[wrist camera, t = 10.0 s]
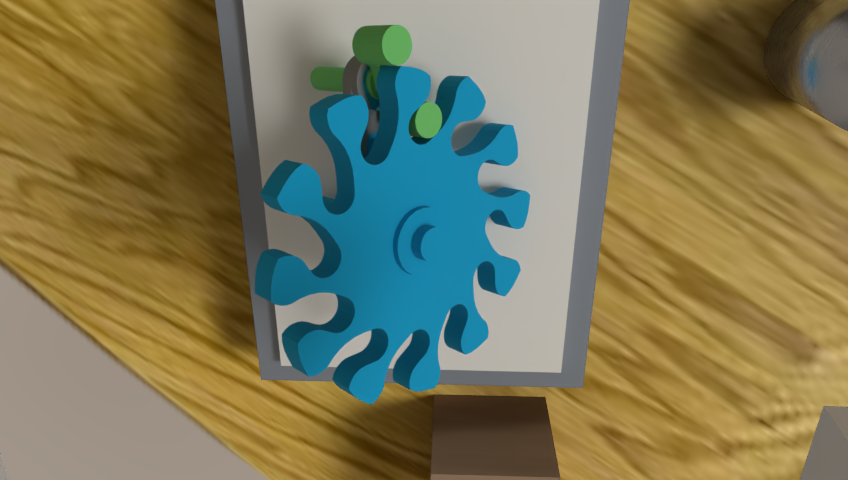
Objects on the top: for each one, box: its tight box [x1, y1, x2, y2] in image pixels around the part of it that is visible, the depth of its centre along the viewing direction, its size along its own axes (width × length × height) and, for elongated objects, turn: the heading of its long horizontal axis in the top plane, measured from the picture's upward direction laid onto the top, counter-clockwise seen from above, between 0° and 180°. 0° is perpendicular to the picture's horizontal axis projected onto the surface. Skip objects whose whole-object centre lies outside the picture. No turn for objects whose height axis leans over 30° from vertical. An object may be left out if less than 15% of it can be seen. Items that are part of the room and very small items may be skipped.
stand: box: [215, 0, 630, 388], centre depth 25 cm, size 18×13×3 cm
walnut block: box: [431, 395, 560, 480], centre depth 30 cm, size 5×5×5 cm
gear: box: [255, 25, 530, 404], centre depth 22 cm, size 11×6×10 cm
